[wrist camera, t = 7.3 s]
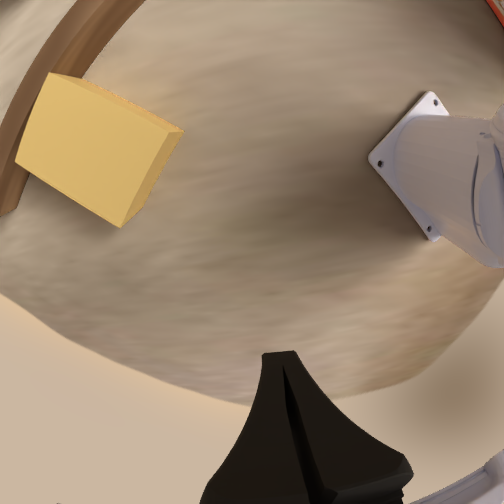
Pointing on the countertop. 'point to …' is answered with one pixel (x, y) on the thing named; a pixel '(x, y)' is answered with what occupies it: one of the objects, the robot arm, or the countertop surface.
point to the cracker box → (498, 9)
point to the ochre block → (95, 147)
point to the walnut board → (60, 62)
